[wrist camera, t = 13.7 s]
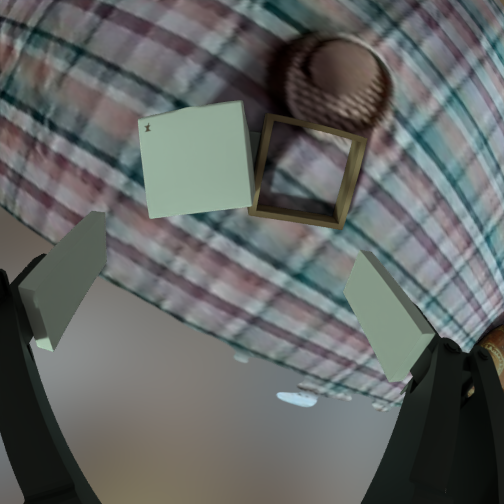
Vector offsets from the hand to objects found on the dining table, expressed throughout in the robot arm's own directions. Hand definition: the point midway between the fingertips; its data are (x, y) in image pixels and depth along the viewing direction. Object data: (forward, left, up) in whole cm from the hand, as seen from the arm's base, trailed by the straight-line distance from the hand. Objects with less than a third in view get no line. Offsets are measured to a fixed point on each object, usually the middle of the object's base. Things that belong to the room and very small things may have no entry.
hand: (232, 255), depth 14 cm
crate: (0, +10, -27) cm, 29 cm away
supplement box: (+1, -1, -25) cm, 25 cm away
